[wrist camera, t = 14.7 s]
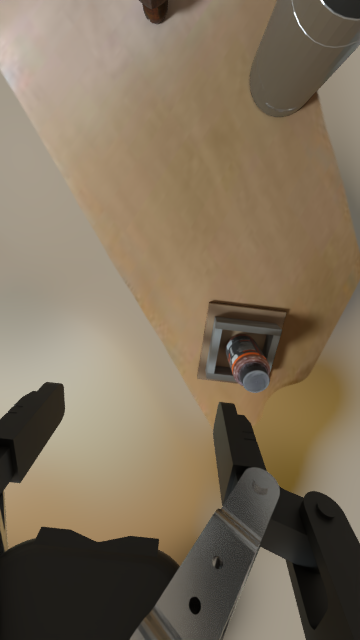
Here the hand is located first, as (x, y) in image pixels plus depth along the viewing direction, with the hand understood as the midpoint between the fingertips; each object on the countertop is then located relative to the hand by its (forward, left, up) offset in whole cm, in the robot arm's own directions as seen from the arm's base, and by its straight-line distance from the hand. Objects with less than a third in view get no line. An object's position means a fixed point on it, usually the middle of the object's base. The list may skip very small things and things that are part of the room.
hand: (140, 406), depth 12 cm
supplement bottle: (+11, +14, -32) cm, 37 cm away
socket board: (+11, +14, -33) cm, 38 cm away
